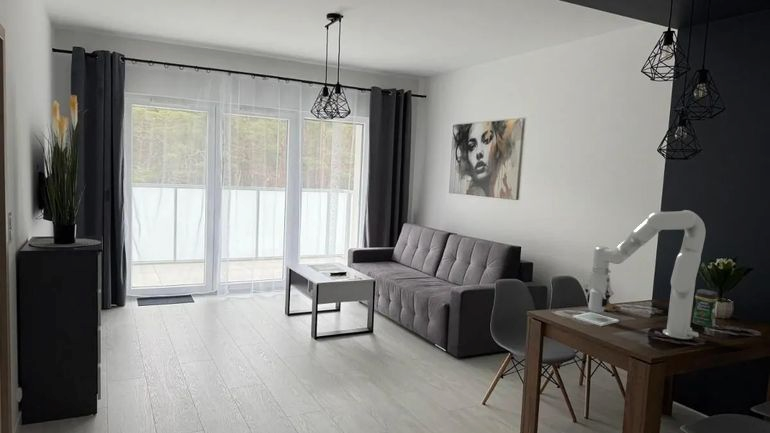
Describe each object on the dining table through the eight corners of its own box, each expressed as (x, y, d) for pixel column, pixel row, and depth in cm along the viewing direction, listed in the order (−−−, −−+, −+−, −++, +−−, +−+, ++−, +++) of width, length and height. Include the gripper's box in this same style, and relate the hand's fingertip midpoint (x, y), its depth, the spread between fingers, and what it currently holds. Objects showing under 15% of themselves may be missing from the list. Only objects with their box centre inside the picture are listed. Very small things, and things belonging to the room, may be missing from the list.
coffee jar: (689, 323, 278) (693, 288, 276) (696, 321, 283) (700, 287, 281) (710, 328, 270) (714, 292, 268) (716, 326, 275) (720, 291, 273)
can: (601, 309, 278) (603, 286, 277) (605, 313, 270) (608, 290, 269) (586, 308, 278) (588, 285, 277) (590, 312, 271) (592, 289, 270)
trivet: (618, 321, 273) (618, 319, 273) (601, 326, 264) (601, 323, 264) (590, 314, 286) (590, 312, 286) (572, 317, 276) (573, 315, 276)
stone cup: (584, 306, 302) (586, 280, 300) (597, 304, 308) (599, 279, 307) (608, 313, 289) (610, 286, 288) (621, 311, 296) (623, 285, 294)
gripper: (620, 273, 268) (616, 307, 269) (589, 267, 282) (585, 299, 283) (612, 274, 263) (608, 309, 265) (580, 268, 277) (577, 301, 279)
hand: (596, 304), depth 274 cm, fingers closed on can, 7 cm apart
